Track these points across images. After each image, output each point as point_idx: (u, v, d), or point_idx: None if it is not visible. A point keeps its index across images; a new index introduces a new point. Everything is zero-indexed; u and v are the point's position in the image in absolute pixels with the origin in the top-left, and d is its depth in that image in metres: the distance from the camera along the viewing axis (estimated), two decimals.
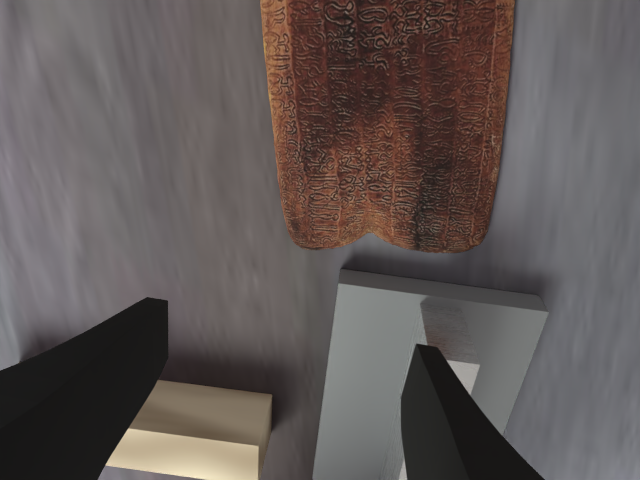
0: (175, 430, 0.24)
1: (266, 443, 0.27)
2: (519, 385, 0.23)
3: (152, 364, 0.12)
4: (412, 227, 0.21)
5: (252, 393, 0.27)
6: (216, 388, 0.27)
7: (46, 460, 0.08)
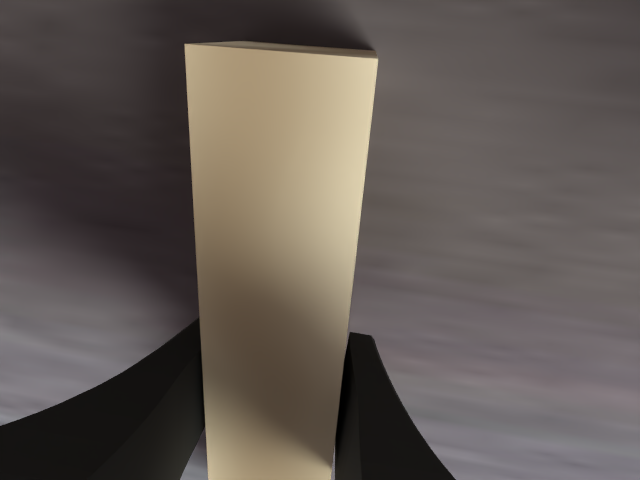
0: (201, 277, 0.10)
1: (340, 50, 0.09)
2: None
3: None
4: None
5: None
6: None
7: (144, 478, 0.08)
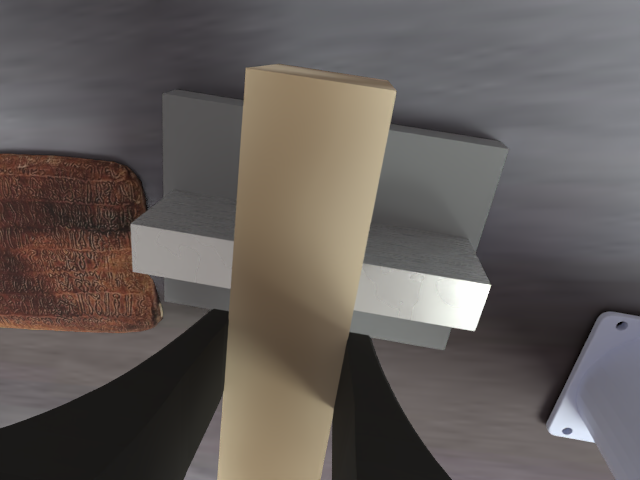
0: (235, 258, 0.11)
1: (361, 79, 0.11)
2: None
3: (221, 376, 0.12)
4: (114, 233, 0.22)
5: None
6: None
7: (148, 479, 0.08)
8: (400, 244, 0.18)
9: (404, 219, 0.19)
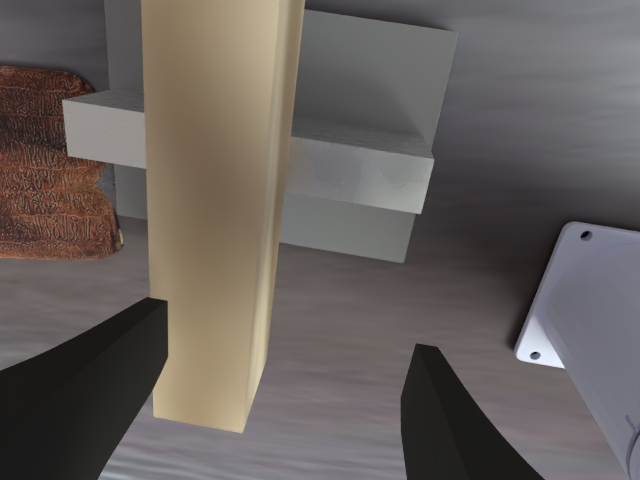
0: (148, 77, 0.11)
1: None
2: None
3: (152, 364, 0.12)
4: None
5: None
6: None
7: (46, 460, 0.08)
8: (348, 132, 0.17)
9: (356, 115, 0.19)
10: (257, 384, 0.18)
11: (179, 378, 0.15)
